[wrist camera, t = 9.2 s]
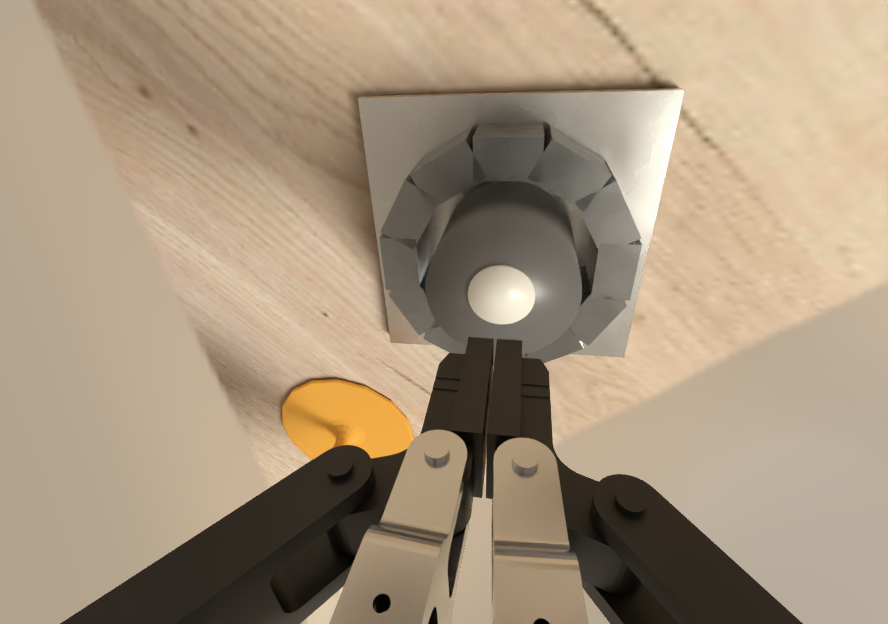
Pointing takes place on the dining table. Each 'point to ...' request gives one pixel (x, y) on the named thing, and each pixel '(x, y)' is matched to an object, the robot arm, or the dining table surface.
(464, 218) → the cap
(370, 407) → the cup
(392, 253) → the segmented ring on plate
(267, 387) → the dining table surface
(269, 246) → the dining table surface
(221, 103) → the dining table surface
